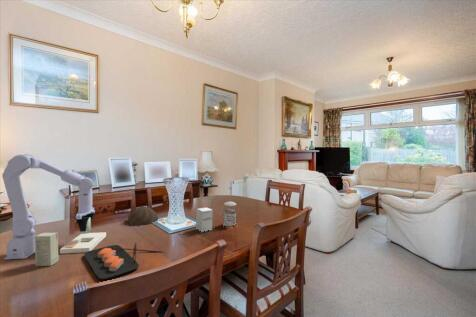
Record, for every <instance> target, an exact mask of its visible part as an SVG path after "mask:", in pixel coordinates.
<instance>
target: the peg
mask: <svg viewBox="0 0 476 317" xmlns="http://www.w3.org/2000/svg"><path fill="white" fill-rule="evenodd" d="M91 227H92V223H91V217H89V219H88V222H87V227H86V231H83V232H80V231H79V235H80V234H87V233H92V232H91V230H92V229H91Z"/></svg>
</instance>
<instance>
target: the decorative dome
mask: <svg viewBox="0 0 476 317" xmlns="http://www.w3.org/2000/svg"><path fill="white" fill-rule="evenodd" d="M158 219H159V216H158V214H157V212H156V211H155V210H154V209H153V208H151V207H148V206H140V207H137V208H135V209H134V210H132V211H131V212H130V213H129V214H128V218H127V220H126V224H129V226H136V225H137V227H140V226H141V225H142V226H150V225H152V224H153V223H152V222H155V221H157V222H158V221H159V220H158ZM151 223H152V224H151ZM149 224H150V225H149Z"/></svg>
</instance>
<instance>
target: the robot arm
mask: <svg viewBox="0 0 476 317" xmlns="http://www.w3.org/2000/svg"><path fill="white" fill-rule="evenodd" d="M29 169H42V170H44V171H47V172H49V173H51V174H54V175H56V176H59V177H60V179H61V181H63V182H65V183H67V184H70V185H72V186H74V187H77V188H78V211H77V213H76V215H75V217H74V221H75V222H76V223H77V226H78V228H79V233H80V232H83V231H86V227H87V222H88V219H89V217H91V224H92V222H93V219H94V217H95V215H96V210H95V207H93V185H94V182H93V180H92V179H91V178H90V177H88V176H86V175H85V174H80V173H78V172H76V170H74V169H72V170H71V169H66V170H65V169H62V168H60V167H58V166H56V165H55V164H53V163H51V162H49V161H46V160H45V159H43V158H40V157H37V156H33V155H32V154H28V153H24V154H17V155H15V156H13V157H12V158H10V159H9V160H8V161H7V165H6V167H5V169H4V170H3V172H2V175H1V177H2V180H3V184H4V186H5V191H6V195H7V198H8V202H9V205H10V208H11V212H12V221H11V222H12V227H11V233H12V238H11V239H10V240H8V242H7V243H6V257H4V258H3V259H4V260H18V259H27V258H28V257H30V256H32V255H33V254H35V236H36V230H35V229H34V227H36V224H37V220H36V218H35V217H34V216H33V215H32V212H30V210H29V207H28V204H27V200H26V196H25V192H24V189H23V188H24V187H23V186H22V181H21V178H20V177H21V176H22V175H23V174H24V173H25V171H27V170H29Z"/></svg>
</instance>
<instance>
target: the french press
mask: <svg viewBox="0 0 476 317" xmlns="http://www.w3.org/2000/svg"><path fill="white" fill-rule="evenodd" d="M228 189H229V190H230V194H229V196H230V197H229V198H230V199H229V201H227V202H224V203H223V205H224V206H222V207H221V208H220V209H219V212H222V210H223V209H224V212H223V216H222V213H219V215H220V217H221V218H223V223H222V224H223V225H225V226H232V225H235V224H237V223H236V222H237V219H236V218H237V212H236V209H234V208H226V206H227V207H234V206H237V203H236V202H235V201H231V198H232V197H231V194H232V192H231V190H232V189H233V187H232V186H229V187H228Z"/></svg>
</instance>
